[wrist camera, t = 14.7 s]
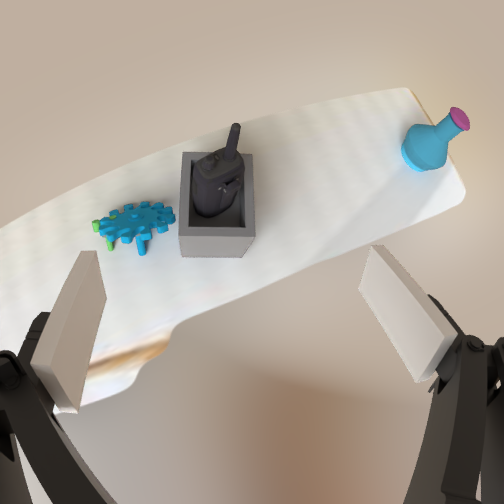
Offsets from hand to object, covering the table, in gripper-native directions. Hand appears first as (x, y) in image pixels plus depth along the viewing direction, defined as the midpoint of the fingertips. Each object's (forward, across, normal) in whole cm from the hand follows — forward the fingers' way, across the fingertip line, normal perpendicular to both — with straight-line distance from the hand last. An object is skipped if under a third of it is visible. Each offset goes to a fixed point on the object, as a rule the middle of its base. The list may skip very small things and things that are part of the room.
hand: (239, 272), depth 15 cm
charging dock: (+28, 0, -11) cm, 30 cm away
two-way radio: (+24, 0, -7) cm, 25 cm away
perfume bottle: (+38, +38, -1) cm, 54 cm away
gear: (+27, -10, -12) cm, 31 cm away
